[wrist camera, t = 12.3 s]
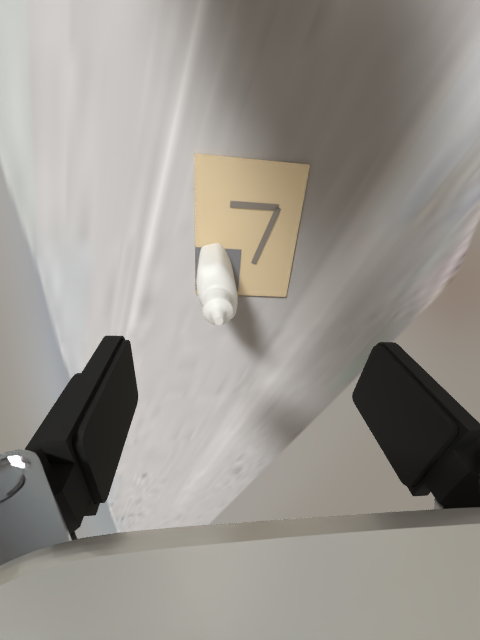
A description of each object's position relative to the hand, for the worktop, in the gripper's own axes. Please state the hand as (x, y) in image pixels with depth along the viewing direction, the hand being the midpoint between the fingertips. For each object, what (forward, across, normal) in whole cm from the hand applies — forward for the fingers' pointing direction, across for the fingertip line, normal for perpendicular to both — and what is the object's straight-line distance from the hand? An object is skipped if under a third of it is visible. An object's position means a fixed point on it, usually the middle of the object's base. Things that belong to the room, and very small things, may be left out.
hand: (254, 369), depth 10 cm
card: (+21, -2, 0) cm, 21 cm away
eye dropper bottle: (+21, +1, +3) cm, 21 cm away
